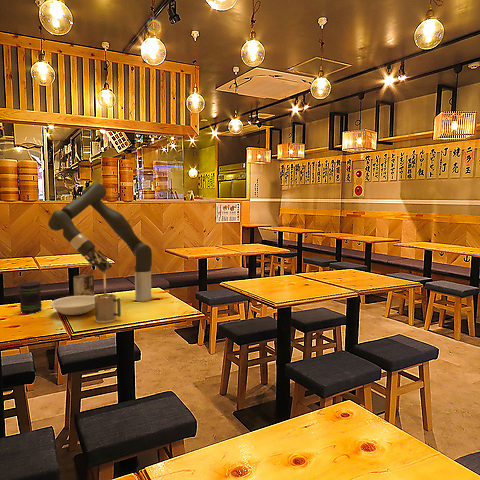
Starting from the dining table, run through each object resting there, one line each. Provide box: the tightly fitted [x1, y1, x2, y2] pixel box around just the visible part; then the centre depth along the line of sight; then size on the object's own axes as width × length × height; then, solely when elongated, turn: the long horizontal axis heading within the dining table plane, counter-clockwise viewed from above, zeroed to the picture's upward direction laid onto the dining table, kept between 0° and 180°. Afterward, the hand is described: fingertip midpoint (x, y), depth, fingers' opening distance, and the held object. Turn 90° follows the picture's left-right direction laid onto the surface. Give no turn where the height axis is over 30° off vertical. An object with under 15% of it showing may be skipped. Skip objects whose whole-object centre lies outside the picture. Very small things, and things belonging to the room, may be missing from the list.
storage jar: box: [19, 281, 42, 314], centre depth 203 cm, size 10×10×15 cm
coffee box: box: [72, 273, 95, 296], centre depth 219 cm, size 9×6×16 cm
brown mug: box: [94, 293, 122, 324], centre depth 189 cm, size 10×12×12 cm
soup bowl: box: [49, 295, 97, 316], centre depth 201 cm, size 24×24×7 cm
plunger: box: [98, 261, 112, 298], centre depth 187 cm, size 6×6×18 cm
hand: (107, 269), depth 187 cm, fingers open, 7 cm apart
